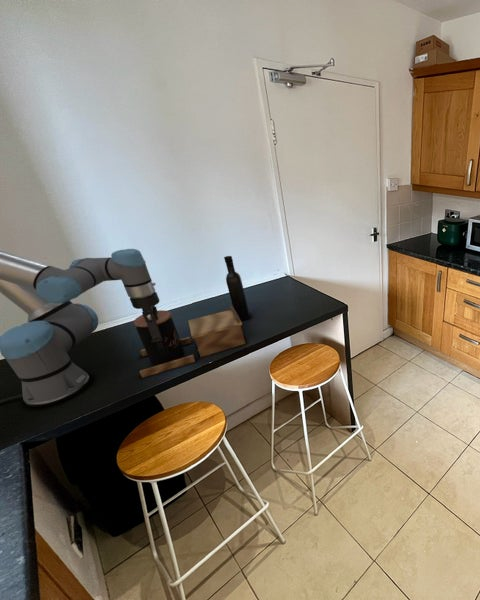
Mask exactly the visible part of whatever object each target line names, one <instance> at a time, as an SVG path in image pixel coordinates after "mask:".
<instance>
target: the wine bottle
mask: <svg viewBox="0 0 480 600" xmlns="http://www.w3.org/2000/svg"><path fill="white" fill-rule="evenodd" d="M223 259H224V263H225V265H226V269H227V274H226V275H225V276H226V277H225V282H226V287H227V290H228V294H229V297H230V301H231V305H233V307H234V309H235V311H236V313H237V315H238V317H239V319H240V320H241V321H246V320H250V318H251V315H250V310H249V306H248V301H247V298H246V294H245V293H246V292H245V289H244V285H243V281H242V277H241V275H240V273H238V272H237V271H236V269H235V265H234V262H233V261H234V259H233V256H232V255H226V256H224V257H223Z"/></svg>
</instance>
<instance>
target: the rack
mask: <svg viewBox="0 0 480 600" xmlns="http://www.w3.org/2000/svg"><path fill="white" fill-rule="evenodd" d="M229 308H230V309H229V310H225V311H220V312H215V313H212V314H208V315H205V316H200V317H196V318H192V319H189V320H187V322H188V327H189V330H190V336H191V337H190V336H186V337H183V338H180V341H181V344H182V346H185V345H190V344H192V341H191V338H192V339H194V342H195V345H196V348H197V350H198V353H199V356H200V358H204V357H208V356H210V355H212V354H216V353H219V352H223V351H225V350H229V349H232V348H236V347H239V346H242V345H246V340H245V337H244V333H243V329H242V326H243V322H242V320H240V319H239V317H238V315H237V313H236V311H235V309H234V307H233V305H232V304H229ZM140 353H141V355H142V358H143V357H148V355H147V352H146V350H145V348H143V349H141V350H140ZM194 362H196V359H195V356H194V354H190V355H186V356H184V357H183V356H182V358H180V359H177V360H173V361H170V362H167V363H163V364H160V365H154V366H150V367H147V368H144V369H140V370H139V374H140V376H141V378H142V379H144V378H146V377H150V376H153V375H156V374H159V373H163V372H166V371H169V370H172V369H176V368H179V367H181V366H185V365H188V364H192V363H194Z"/></svg>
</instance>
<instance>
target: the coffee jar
mask: <svg viewBox="0 0 480 600" xmlns="http://www.w3.org/2000/svg"><path fill="white" fill-rule="evenodd" d="M157 312H158V314H157V316H158V320H156V323H157V326H158V327H159V330H160V332H161V335H162V338H164V341H165V343H166V346H167V348H168V351H169V353H170V354H168V355H165V356H162V357H160V354H159V352H158V350H157V347H156V345H155V343H152V342H151V341H153V339H152V337H151V334H150V331H149V328H148V325H147V323H146V321H145V318H144V316H143V314H141V315H139V316H137V317H135V319H134V320H133V324H134V326H136V328H135V329H136V332H137V333H138V336H139V339H140V341H141V343H142V345H143V347H144V348H143V349H145V350H146V352H147V357H148V360H149V362H150V363H151V364H152V365H154V366H157V365H160V364H163V363H167V362H170V361H173V360H177V359H180V358H183V356H184V354H185V349H184V345H182V344H181V341H180V339H181V338H180V336H179V333H178V331H177V328H176V325H175V322H174V319H173V317H171V312H170V311H168V310H163V309H162V310H157ZM155 319H156V318H155Z"/></svg>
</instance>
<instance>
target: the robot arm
mask: <svg viewBox="0 0 480 600" xmlns="http://www.w3.org/2000/svg"><path fill="white" fill-rule="evenodd" d="M110 255H111V257H84V258H78V259H74V260H72V261H71V263H70V265H69V268H66V269H62V268H59V267H56V266H52V265H49V264H46V263H43V262H40V261H36V260H33V259H31V258H28V257H24V256H21V255H18V254H15V253H11V252H8V251H5V250H3V249H2V248H1V247H0V294H2V295H3V296H4V297H6V299H8V300H9V301H10V302H11V303H13V304H15V306H17V307H18V308H19V309H20V310H22V311H23V312H24V313H26V314H27V322H24V323H22V324H21V325H17V326H14V327H12V328H10V329H8V330H7V331H5V332H3V333H2V334H1V335H0V354H1V356H2V357H3V358H4V359H5V361H6V362H7V363H8V365H9V366H10V368H11V369H12V370H13V372H14V373H15V375H16V376H17V377H18V379H19V380H20V382H21V394H17V395H14V396H10V397H6V398H3V399H0V404H3V403H6V402H10V401H13V400H16V399H21V398H22V400H23V402H24V403H25V405H26V406H27V407H30V408H44V407H48V406H53V405H57V404H60V403H62V402H65V401H66V400H69V399H71V398H73V397H74V396H77V395H78V394H80V393H81V392H82V391H84V390H85V389H86V388H87V387H88V386H90V385H89V384H90V383H91V377H90V375H89V373H87V372H86V371H85V370H83V369H82V368H81V367H80V366H78V365H77V364H75V363H74V362H73V360H72V359H71V358H70V356H69V354H68V352H69V351H70V350H71V349H73V348H74V347H76V346H77V345H78V344H80V343H81V342H82V341H84V340H85V339H86V338H88V337H90V336H91V335H92V334H93V333H94V332H95V331H96V330H97V328H98V327H99V316H98V314H97V313H96V312H95V310H94V309H93V308H91V307H90V306H89V305H86V304H82V303H74V302H72V300H74V299H77V298H78V297H79V296H81V295H82V294H83V293H86V292H87V291H89V290H91V289H93V288H94V287H96V286H98V285H99V284H101V283H104V282H109V281H121V282H122V284H123V287H124V290H125V291H126V295H127V297H128V298H129V301H130V304H131V306H132V307H133V308H134V309H137V310H141V311H142V312H141V315H143V316H144V318H145V321H146V323H147V325H148V328H149V331H150V334H151V337H152V339H153V341H151V342H152V343H155V345H156V347H157V350H158V352H159V354H160V357H162V356H165V355H168V354H170V353H169V351H168V348H167V346H166V343H165V341H164V338H162V335H161V332H160V330H159V327H158V326H157V323H156V320H158V316H157V314H158V312H157V311H158V308H157V305H158V304H159V303H160V298H159V295H158V292H157V291H156V287H155V286H156V285H157V284H156V282H153V280H152V277H151V275H150V272H149V269H148V266H147V264H146V260H145V259H144V257H143V254H142V251H140V250H139V249H136V248H126V249H119V250H115V251H113V252H112V253H111V254H110ZM155 318H156V319H155Z"/></svg>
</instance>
